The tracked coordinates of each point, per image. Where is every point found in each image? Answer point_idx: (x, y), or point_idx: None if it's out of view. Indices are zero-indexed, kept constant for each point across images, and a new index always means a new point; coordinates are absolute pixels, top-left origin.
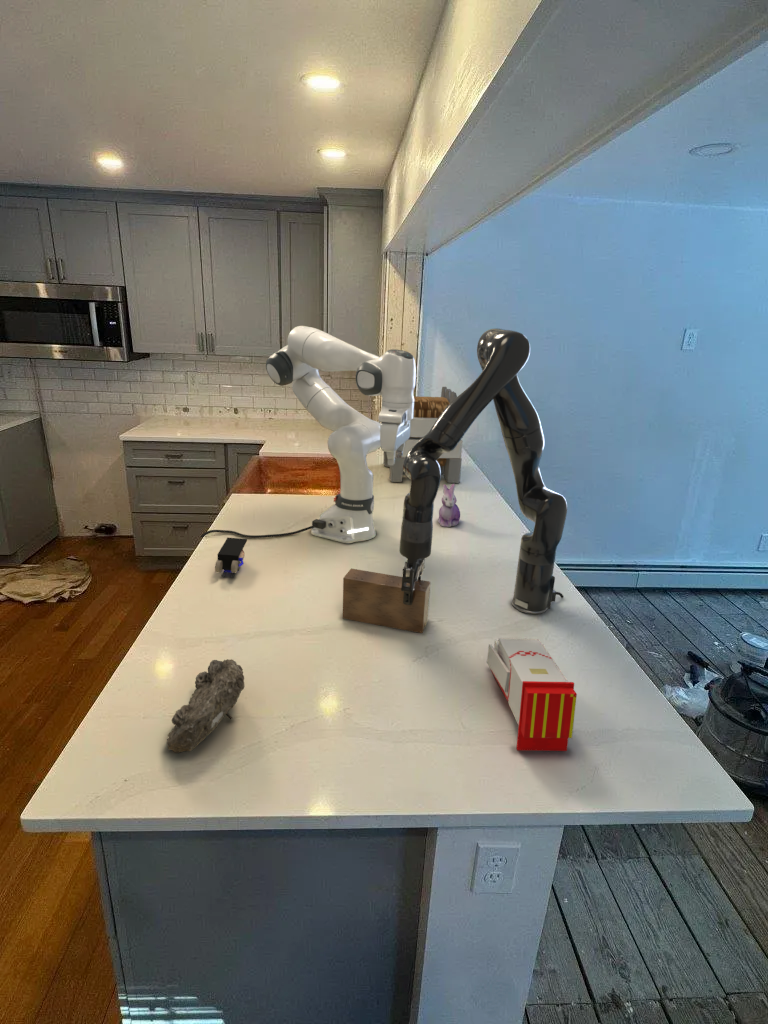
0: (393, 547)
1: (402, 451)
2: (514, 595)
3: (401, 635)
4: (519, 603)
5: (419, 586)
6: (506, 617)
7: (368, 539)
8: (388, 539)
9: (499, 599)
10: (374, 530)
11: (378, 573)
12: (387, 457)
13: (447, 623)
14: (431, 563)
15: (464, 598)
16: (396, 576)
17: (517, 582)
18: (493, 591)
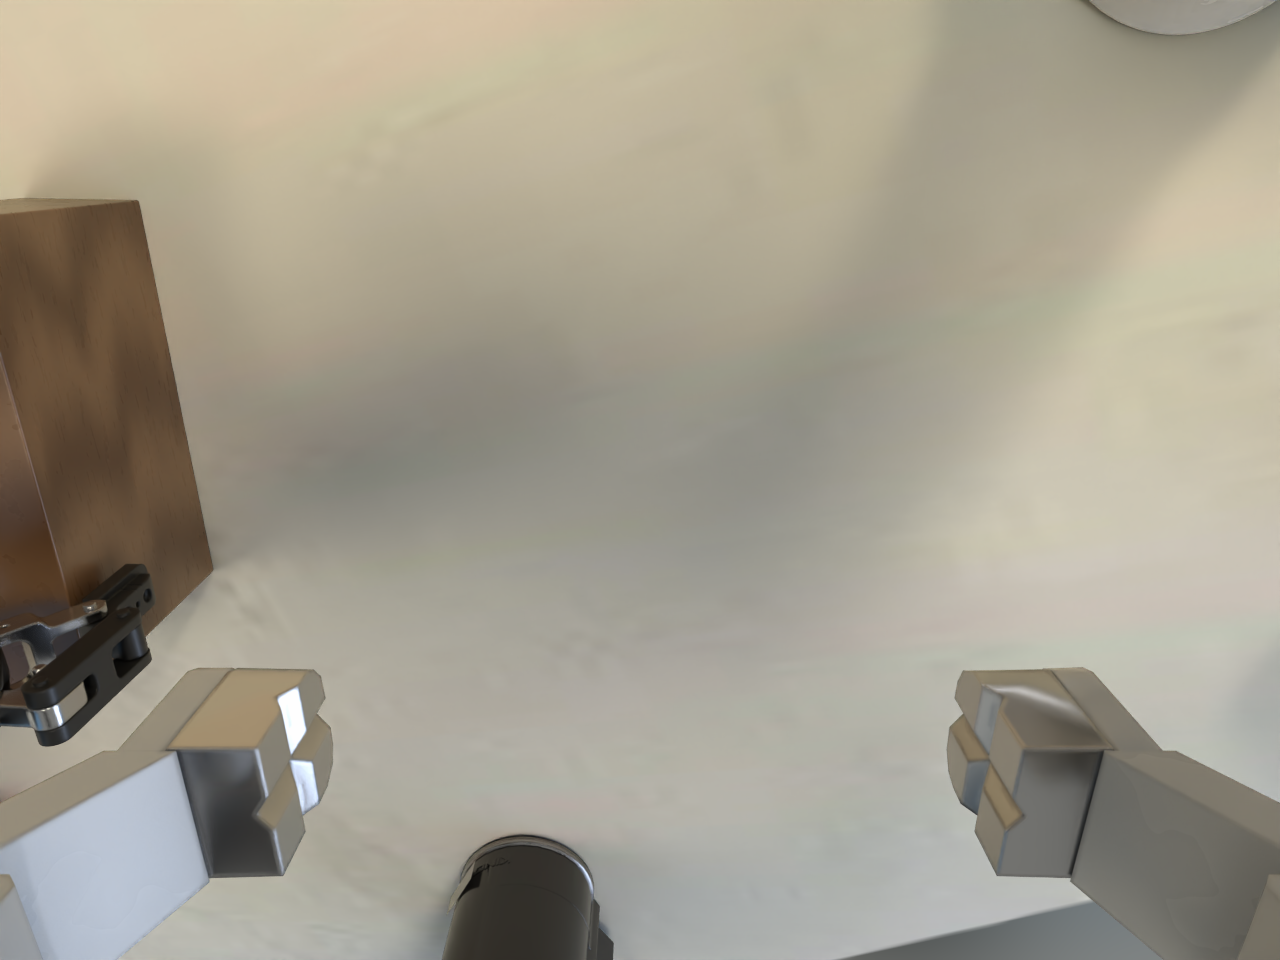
0: (996, 222)
1: (1049, 875)
2: (496, 875)
3: None
4: (464, 881)
5: (3, 650)
6: (402, 821)
7: (1093, 4)
8: (1133, 151)
9: (538, 793)
10: (1219, 16)
11: (8, 411)
12: (60, 777)
13: (245, 642)
14: (814, 486)
15: (487, 675)
16: (37, 518)
17: (472, 937)
18: (601, 769)
